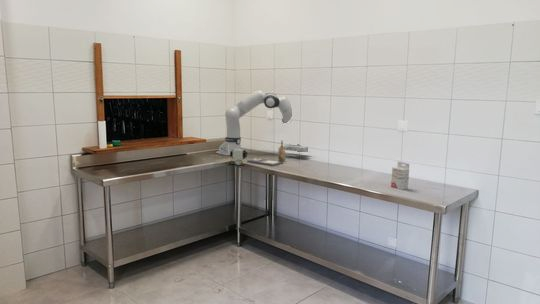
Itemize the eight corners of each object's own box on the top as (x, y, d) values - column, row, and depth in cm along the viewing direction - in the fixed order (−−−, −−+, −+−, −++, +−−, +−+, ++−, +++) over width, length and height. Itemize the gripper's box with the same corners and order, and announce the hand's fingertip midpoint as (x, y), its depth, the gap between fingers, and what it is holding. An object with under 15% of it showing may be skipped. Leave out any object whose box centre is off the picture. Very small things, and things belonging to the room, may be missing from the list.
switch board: (247, 162, 308) (247, 159, 307) (257, 159, 318) (257, 157, 318) (272, 166, 294) (272, 163, 293) (283, 163, 304) (283, 161, 304)
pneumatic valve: (245, 165, 293) (245, 149, 291) (230, 164, 296) (230, 148, 295) (247, 164, 298) (247, 148, 297) (232, 163, 302) (232, 147, 300)
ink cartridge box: (390, 186, 239) (392, 162, 236) (395, 185, 242) (397, 161, 239) (402, 190, 232) (404, 164, 230) (408, 188, 235) (410, 163, 232)
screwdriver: (276, 161, 312) (277, 140, 310) (280, 160, 316) (281, 140, 313) (282, 162, 309) (282, 141, 307) (286, 161, 313) (286, 140, 311)
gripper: (289, 142, 338) (280, 144, 327) (311, 144, 326) (301, 146, 315) (289, 150, 339) (279, 152, 328) (310, 152, 327) (301, 154, 316)
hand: (290, 149), depth 321 cm, fingers open, 8 cm apart
